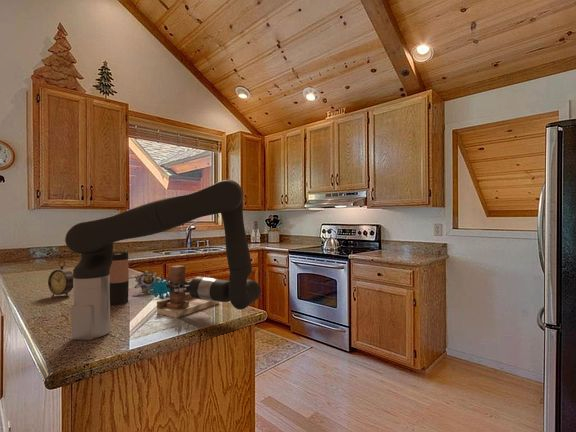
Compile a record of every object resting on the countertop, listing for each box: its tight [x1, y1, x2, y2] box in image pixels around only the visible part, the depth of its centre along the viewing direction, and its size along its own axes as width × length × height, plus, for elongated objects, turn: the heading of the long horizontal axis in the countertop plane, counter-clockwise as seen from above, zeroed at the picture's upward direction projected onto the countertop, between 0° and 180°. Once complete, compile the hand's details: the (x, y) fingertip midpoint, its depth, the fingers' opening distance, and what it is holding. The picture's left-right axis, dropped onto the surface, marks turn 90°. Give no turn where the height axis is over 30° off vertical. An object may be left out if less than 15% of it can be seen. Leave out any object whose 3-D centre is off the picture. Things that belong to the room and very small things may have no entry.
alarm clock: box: [47, 259, 73, 298], centre depth 141 cm, size 11×5×16 cm, turn 73°
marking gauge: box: [167, 264, 189, 310], centre depth 115 cm, size 6×6×15 cm
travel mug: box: [110, 251, 130, 306], centre depth 130 cm, size 8×8×20 cm
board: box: [156, 293, 220, 319], centre depth 120 cm, size 21×10×4 cm, turn 150°
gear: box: [149, 277, 170, 299], centre depth 140 cm, size 11×6×10 cm
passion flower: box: [134, 269, 161, 295], centre depth 149 cm, size 11×11×12 cm
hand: (172, 283), depth 117 cm, fingers closed on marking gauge, 3 cm apart
